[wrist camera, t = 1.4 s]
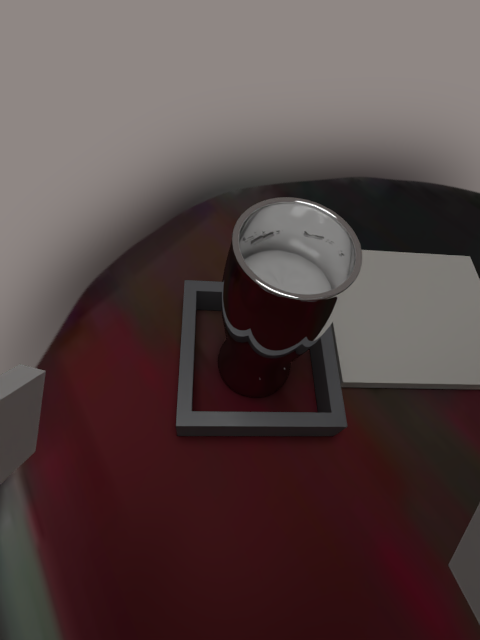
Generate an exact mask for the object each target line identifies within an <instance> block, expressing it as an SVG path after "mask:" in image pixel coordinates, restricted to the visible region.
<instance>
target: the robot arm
mask: <svg viewBox="0 0 480 640" xmlns="http://www.w3.org/2000/svg"><path fill="white" fill-rule="evenodd" d="M45 372H46V371H44V370H40V369H36V368H32V367H29V366H25V365H21V364H20V365H18V366H16V367H14V368H13V369H11V370H9V371H7V372H5V373H4V374H2V375H0V484H1V483H3V482H4V481H5V480H6V479H7V478H8V477H9V476H10V475H11V474H12V473H13V472H14V471H15V470H16V469H17V468H18V467H19V466H20V465H21V464H23V463H24V462H25V461H26V460H27V459H28V458H29V457H30V456H31V455H32V454H33V453H34V452H35V450H36V442H37V434H38V426H39V418H40V411H41V403H42V395H43V387H44V380H45ZM448 566H449V568H450V569H451V571H452V573H453V575H454V577H455V579H456V581H457V583H458V585H459V587H460V588H461V590H462V592H463V594H464V596H465V598H466V600H467V602H468V604H469V605H470V607H471V609H472V611H473V613H474V615H475V617H476V619H477V621H478V623H479V624H480V503H479V505H478V507H477V509H476V511H475V513H474V515H473V517H472V519H471V521H470V523H469V525H468V527H467V529H466V531H465V533H464V535H463V537H462V539H461V541H460V543H459V545H458V547H457V549H456V551H455V553H454V555H453V557H452V559H451V561H450V563H449V565H448Z"/></svg>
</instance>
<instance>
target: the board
mask: <svg viewBox="0 0 480 640" xmlns="http://www.w3.org/2000/svg"><path fill="white" fill-rule="evenodd" d="M331 330H332V336H333V342H334V348H335V354H336V360H337V366H338V373H339V379H340V385H341V387H361V388H421V389H480V280H479V277H478V275H477V272H476V270H475V267H474V265H473V263H472V260H471V258H470V256H454V255H437V254H421V253H404V252H387V251H370V250H362V266H361V269H360V272H359V275H358V276H357V278H356V280H355V281H354V282H353V284H352V286H351V289H350V291H349V293H348V295H347V297H346V299H345V301H344V303H343V305H342V307H341V309H340V310H339V312H338V314H337V315H336V317H335V319H334V320H333V322H332V324H331Z"/></svg>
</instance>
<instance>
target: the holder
mask: <svg viewBox="0 0 480 640" xmlns="http://www.w3.org/2000/svg"><path fill="white" fill-rule="evenodd" d="M221 290H222V282H211V281H190V280H185V285H184V302H183V318H182V335H181V351H180V367H179V384H178V400H177V417H176V430H177V436H334V435H336V434H337V433H339V432H340V431H342V430H343V429H345V428H346V427H347V422H346V416H345V409H344V403H343V397H342V391H341V385H340V379H339V373H338V366H337V360H336V354H335V348H334V342H333V336H332V330H331V325H330V326H329V328H328V329H327V330H326V332H325V333H324V334H323V335H322V337H321V338H320V339H319V340H318V341H317V342H316V343H315V344H314V345H313V346H312V347H311V348H310V354H311V362H312V370H313V378H314V386H315V394H316V401H317V409H318V413H311V412H198V411H192V397H193V373H194V348H195V323H196V310H219V311H222V309H221Z"/></svg>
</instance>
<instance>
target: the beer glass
mask: <svg viewBox="0 0 480 640" xmlns="http://www.w3.org/2000/svg"><path fill="white" fill-rule="evenodd" d="M361 266H362V250H361V246H360V243H359V240H358V238H357V236H356V234H355V233H354V231H353V230H352V228H351V227H350V226H349V225H348V224H347V222H346V221H345V220H344V219H342V218H341V217H340V216H339V215H338V214H336V213H335V212H333V211H332V210H330V209H328V208H326V207H324V206H322V205H320V204H318V203H315V202H312V201H309V200H305V199H300V198H291V197H281V198H273V199H268V200H265V201H262V202H259V203H257V204H255V205H253V206H252V207H250V208H249V209H247V210H246V211H245V212H244V213H243V214H242V215H241V216H240V218H239V219H238V221H237V222H236V225H235V227H234V230H233V234H232V241H231V245H230V249H229V252H228V256H227V260H226V264H225V269H224V274H223V280H222V290H221V309H222V319H223V324H224V329H225V334H226V340H225V341H224V343H223V344H222V346H221V348H220V351H219V355H218V368H219V371H220V374H221V376H222V378H223V380H224V381H225V383H226V384H227V385H228V386H229V387H230V388H231V389H232V390H234V391H235V392H237V393H239V394H241V395H244V396H247V397H254V398H258V397H265V396H268V395H271V394H273V393H275V392H276V391H278V390H279V389H280V388H281V387H282V386H283V385H284V383H285V382H286V380H287V378H288V375H289V372H290V368H291V363H292V362H293V361H294V360H295V359H297V358H298V357H299V356H301V355H302V354H303V353H305V352H306V351H307V350H308V349H309V348H311V347H312V346H313V345H314V344H315V343H316V342H317V341H318V340H319V339H320V338H321V337H322V335H323V334H324V333H325V332H326V330H327V329H328V328H329V326H330V325H331V324H332V322H333V320H334V319H335V317H336V315H337V314H338V312H339V310H340V309H341V307H342V305H343V303H344V301H345V299H346V297H347V295H348V293H349V291H350V289H351V286H352V284H353V282H354V281H355V280H356V278H357V276H358V275H359V272H360V269H361Z"/></svg>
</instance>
